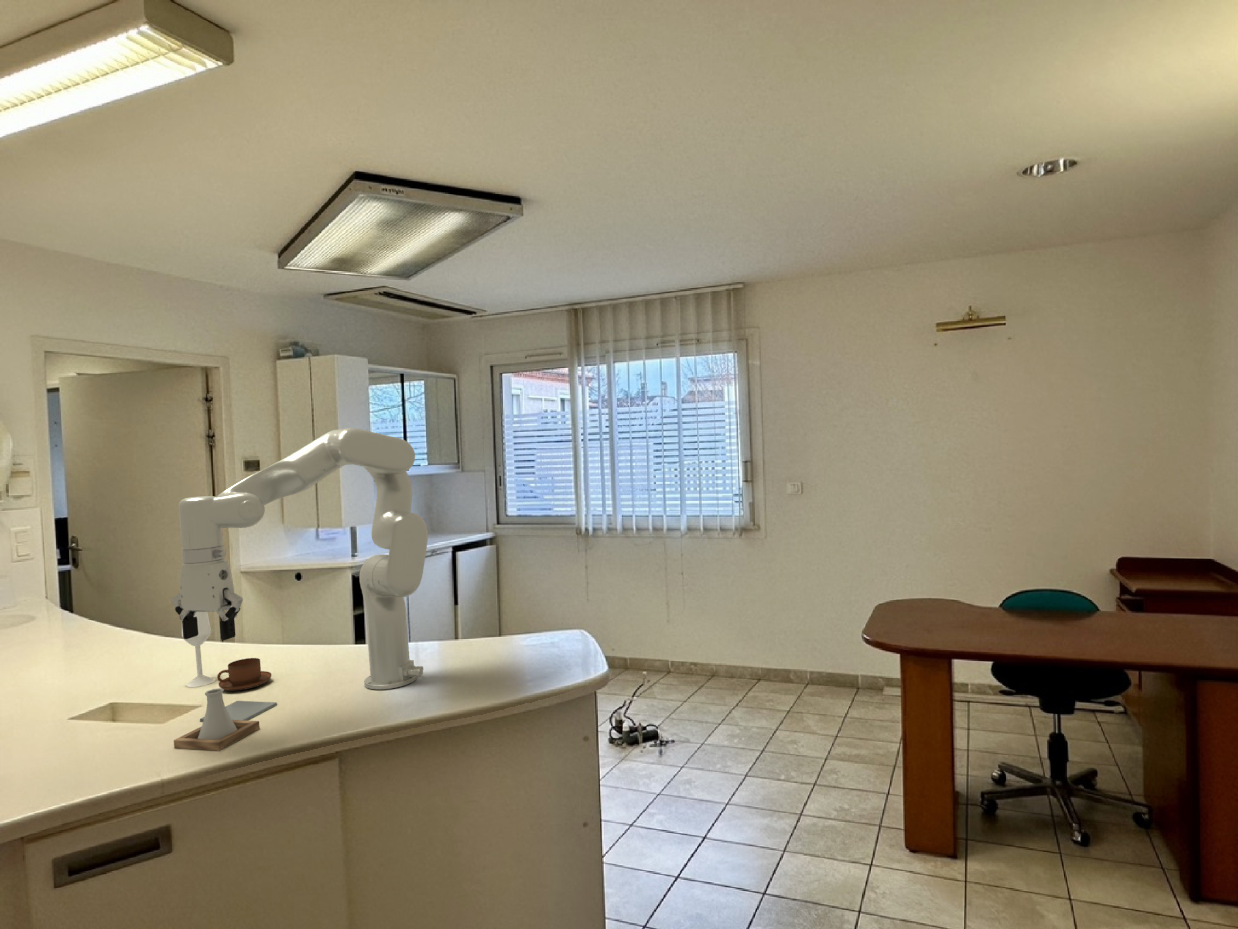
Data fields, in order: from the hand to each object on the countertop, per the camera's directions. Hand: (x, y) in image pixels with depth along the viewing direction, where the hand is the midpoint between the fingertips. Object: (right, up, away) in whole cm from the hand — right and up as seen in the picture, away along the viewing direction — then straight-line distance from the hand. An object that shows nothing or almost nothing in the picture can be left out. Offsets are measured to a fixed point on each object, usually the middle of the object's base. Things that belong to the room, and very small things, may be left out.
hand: (209, 638), depth 152 cm
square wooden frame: (+2, -21, 0) cm, 21 cm away
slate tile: (-1, -20, +14) cm, 25 cm away
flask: (+2, -21, 0) cm, 21 cm away
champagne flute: (-24, -21, +39) cm, 50 cm away
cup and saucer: (-10, -21, +34) cm, 41 cm away
